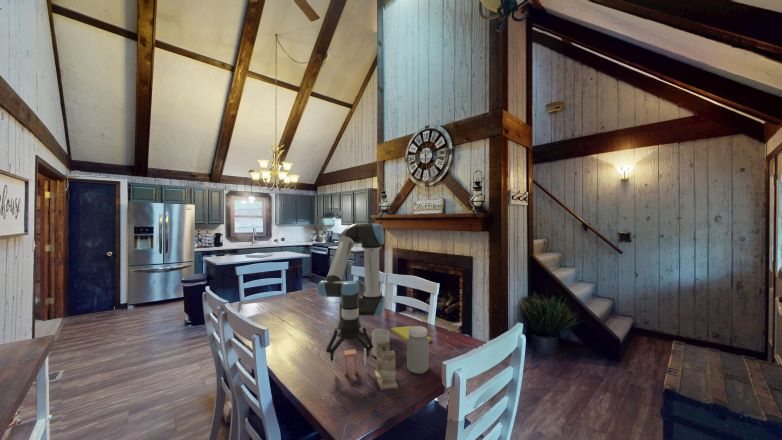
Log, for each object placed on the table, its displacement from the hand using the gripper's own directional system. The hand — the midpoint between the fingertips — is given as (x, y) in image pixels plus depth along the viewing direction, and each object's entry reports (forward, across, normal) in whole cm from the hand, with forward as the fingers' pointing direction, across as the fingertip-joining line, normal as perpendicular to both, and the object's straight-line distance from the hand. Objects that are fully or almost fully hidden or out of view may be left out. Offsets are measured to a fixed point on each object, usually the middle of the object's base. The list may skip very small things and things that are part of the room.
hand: (349, 365), depth 128 cm
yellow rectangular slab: (+3, +38, +32) cm, 50 cm away
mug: (+3, +17, +15) cm, 23 cm away
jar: (+3, +30, -4) cm, 30 cm away
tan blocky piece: (+3, +14, -9) cm, 17 cm away
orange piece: (+3, 0, 0) cm, 3 cm away
